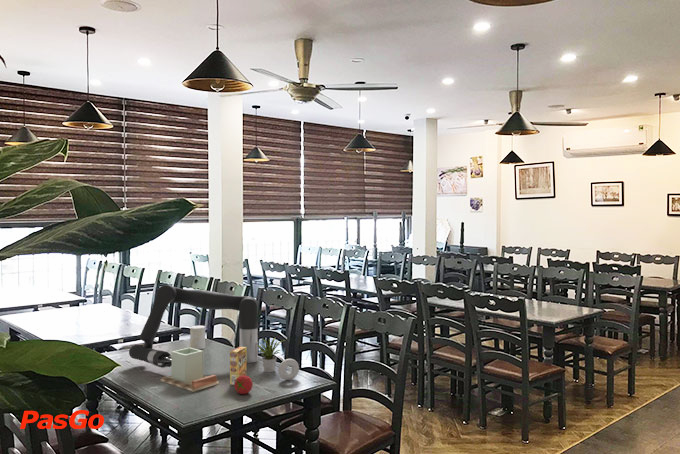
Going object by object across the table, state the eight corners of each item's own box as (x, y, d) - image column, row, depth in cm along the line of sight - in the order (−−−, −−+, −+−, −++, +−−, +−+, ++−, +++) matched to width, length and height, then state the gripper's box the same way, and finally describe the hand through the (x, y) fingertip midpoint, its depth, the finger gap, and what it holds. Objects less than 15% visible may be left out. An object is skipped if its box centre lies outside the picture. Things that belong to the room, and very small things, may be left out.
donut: (279, 382, 248) (279, 360, 248) (277, 380, 251) (277, 358, 251) (300, 379, 253) (300, 358, 252) (297, 377, 256) (297, 356, 255)
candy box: (237, 385, 243) (237, 351, 243) (229, 384, 244) (229, 350, 244) (247, 379, 252) (247, 347, 251) (238, 379, 253) (238, 346, 252)
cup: (187, 348, 308) (187, 327, 308) (196, 345, 316) (196, 325, 315) (199, 350, 305) (199, 328, 305) (207, 346, 312) (207, 326, 312)
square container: (171, 379, 247) (171, 351, 247) (189, 374, 255) (189, 347, 255) (184, 383, 241) (185, 355, 241) (203, 378, 249) (203, 350, 249)
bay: (160, 380, 249) (160, 372, 249) (186, 373, 260) (186, 365, 260) (193, 391, 234) (193, 382, 234) (218, 383, 245) (218, 375, 245)
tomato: (248, 370, 237) (238, 371, 230) (258, 384, 233) (248, 385, 227) (237, 383, 238) (226, 385, 231) (247, 397, 235) (237, 399, 228)
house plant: (282, 365, 277) (282, 333, 276) (288, 372, 263) (289, 339, 263) (254, 367, 272) (254, 334, 272) (259, 375, 259) (259, 341, 259)
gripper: (146, 353, 257) (168, 359, 246) (170, 347, 267) (192, 353, 256) (146, 369, 257) (168, 375, 246) (171, 363, 267) (192, 369, 257)
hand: (180, 364), depth 251 cm, fingers closed
